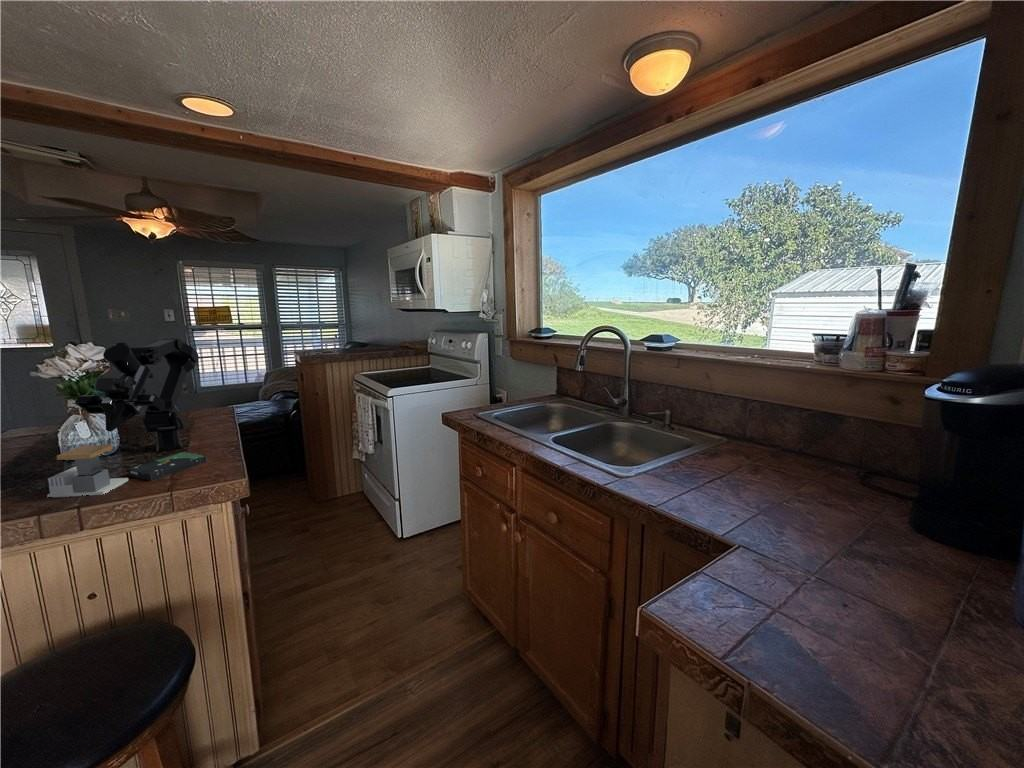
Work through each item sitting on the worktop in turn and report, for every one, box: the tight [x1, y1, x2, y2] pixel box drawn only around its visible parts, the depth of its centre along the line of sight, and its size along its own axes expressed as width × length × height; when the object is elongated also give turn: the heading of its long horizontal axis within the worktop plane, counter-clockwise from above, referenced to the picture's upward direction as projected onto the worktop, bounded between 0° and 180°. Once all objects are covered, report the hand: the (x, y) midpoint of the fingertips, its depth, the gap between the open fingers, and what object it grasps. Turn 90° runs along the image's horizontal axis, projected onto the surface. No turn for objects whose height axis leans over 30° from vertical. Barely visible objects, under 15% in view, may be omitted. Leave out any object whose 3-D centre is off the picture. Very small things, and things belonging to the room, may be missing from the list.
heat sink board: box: [46, 466, 129, 498], centre depth 106 cm, size 8×12×5 cm
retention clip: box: [56, 444, 114, 475], centre depth 104 cm, size 7×7×6 cm
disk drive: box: [127, 451, 208, 482], centre depth 119 cm, size 10×3×15 cm
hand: (108, 430), depth 110 cm, fingers closed
